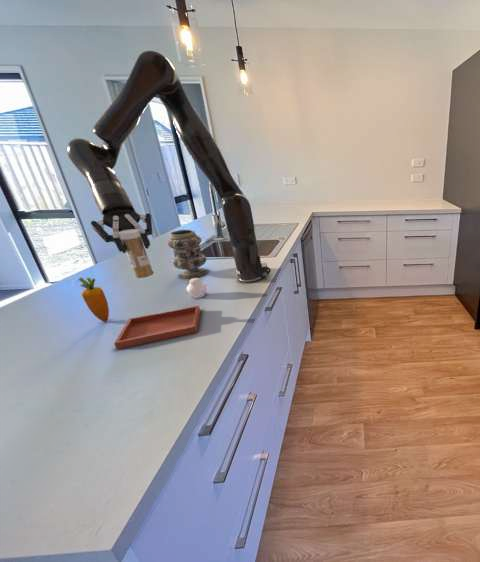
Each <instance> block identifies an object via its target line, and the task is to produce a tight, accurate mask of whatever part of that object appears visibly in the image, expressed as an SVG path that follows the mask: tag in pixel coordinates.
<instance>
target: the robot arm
mask: <svg viewBox="0 0 480 562" xmlns="http://www.w3.org/2000/svg"><path fill="white" fill-rule="evenodd" d="M124 83H125V84H124V85H123V87H122V88H121V90H120V92H119V93H118V94H117V96H116V97H115V98H114V100H113V101H112V102H111V103H110V105H109V106H108V108H107V109H106V110H105V111H104V112H103V113H102V115H101V116H100V117H99V119H98V120H97V122H96V123H94V125H93V127H92V132H93V134H94V135H95V136H96V137H97V138H98V139H99V140H101V141H102V145H101V146H99V145H97V144H95V143H93V142H92V141H90V140H88V139H84V138H79V137H78V138H73V139H70V141H68V143H67V145H66V153H67V156H68V158H69V160H70V161H71V163H72V164H73V165H74V167H75V168H76V169H77V170H78V171H79V172H80V174H81V175H83V177H84V178H85V179H86V181H87V183H88V185H89V187H90V189H91V193H92V196H93V199H94V202H95V204H96V205H97V208H98V210H99V212H100V214H101V216H102V217H101V220H98V221H96V220H91V221H90V225H91V227H92V230H93V231H94V232H96V233H97V235H98V236H99V237H100V238H101V239H102V240H103V241H104V242H105V243H111V242H112V243H114V244H115V246H116V248H117V250H118V251H119V252H120V253H122V254H127V253H126V249H125V247H124V245H123V242H122V239H120V237H119V234H118V233H119V232H120V231H124V230H130V229H137V230H139V232H140V235H141V236H140V237H141V240H142V243H143V246H144V248H145V250H147V249H149V247H150V246H151V241H150V239H149V237H148V236H152V235H153V222H152V215H151V213H149V212H148V213H145V214H139V212H137V211H136V210H135V208H134V206H133V203H132V201H131V199H130V197H129V195H128V193H127V192H126V191H127V190H126V189H125V188H124V186H123V185H122V183H121V181H120V178H119V177H118V175H117V173H116V172H115V171H114V170H113V169H114V168H115V167H116V164H117V162H118V158H119V156H120V152H121V150H122V147H123V144H124V143H125V141H126V140H127V139H128V138H129V136H130V135H131V134H132V132H133V131H134V130H135V128H136V127H137V125H138V124H139V121H140V119H141V117H142V115H143V113H144V111H145V109H146V108H147V107H148V105H149V104H150V103H151V101H152V100H153V99H154V98H155V97H156V96H157V97H158V99H159V100H160V102H161V103H162V105H163V106H164V107H165V109H166V110H167V112H168V114H169V116H170V118H171V120H172V123H173V125H174V128H175V130H176V133H177V135H178V137H179V139H180V140H181V143H182V144H183V146H184V148H185V149H186V151H187V153H188V154H189V156H190V157H191V159H192V160H193V162H194V163H195V165H196V166H197V168H198V169H199V170H200V171H201V173H203V175H204V176H205V177H206V179H208V181H209V182H210V184H211V185H212V186H213V188H214V191H215V192H216V194H217V197H218V198H219V200H220V203H221V208H222V214H223V217H224V222H225V225H226V230H227V234H228V237H229V241H230V242H229V243H230V247H231V250H232V255H233V260H234V263H235V272H236V274H237V278H238V281H239V282H240V283H241V282H242V283H253V282H257V281H259V280H261V279H262V280H263V279H264V278H265V276H264V274H265V275H267V276H268V275H269V274H270V273H271V267H269V266H268V264H267V262H262V259H261V255H260V252H259V246H258V240H257V235H256V229H255V223H254V216H253V212H252V207H251V203H250V201H249V199H248V198H247V196H246V195H245V194H244V193H243V191H242V190H241V188H240V187H239V185H238V184H237V182H236V181H235V179H234V177H233V176H232V174H231V172H230V169H229V167H228V165H227V162H226V160H225V158H224V155H223V153H222V152H221V149H220V147H219V146H218V143H217V142H216V140H215V139H214V137H213V135H212V133H211V131H210V130H209V128H208V127H207V125H206V124H205V123H204V121H203V119H202V118H201V116H200V115H199V113H198V112H197V111H196V110H195V107H193V105H192V103H191V101H190V99H189V97H188V95H187V93H186V90H185V89H184V87H183V85H182V82H181V79H180V77H179V75H178V73H177V70H176V68H175V67H174V65H173V64H172V63H171V62H170V60H169V59H168V58H167V57H166V56H165V55H163V54H162V53H160V52H158V51H156V50H144V51H143V52H140V54H139V55H138V56H137V58H136V60H135V62H134V65H133V67H132V69H131V72H130V74H129V76H128V77H127V80H126V82H124ZM140 221H142V222H143V223H144V224H145V225H146V227H145V229H143V228H142V226H141V225H140V224H139V222H140ZM104 226H106V227H108V228H110V229H112V234H109V233H108V232H107V231H106V230H105V227H104Z"/></svg>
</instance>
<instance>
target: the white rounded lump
mask: <svg viewBox="0 0 480 562" xmlns="http://www.w3.org/2000/svg"><path fill="white" fill-rule="evenodd" d="M207 286H208V285H207V284H206V282H204V281H202V280H201V279H200V278H199V277H193V278H190V280H189V282H188V285H187V287H186V291H187V293H188V294H190V295H191V297H193V298H194V299H200V298H203V297H204V296H205V295H206V291H207Z"/></svg>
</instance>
